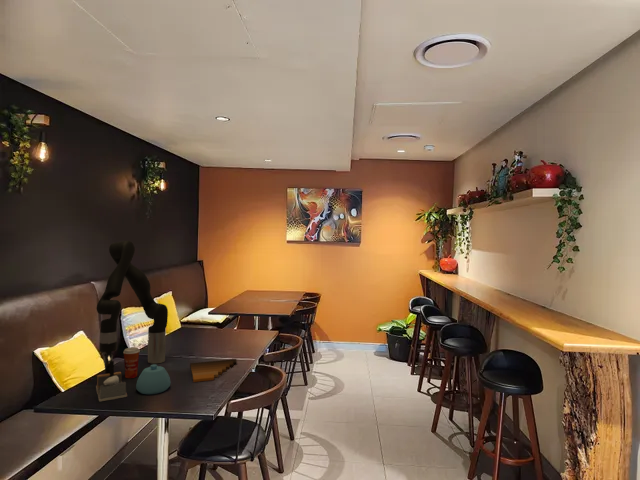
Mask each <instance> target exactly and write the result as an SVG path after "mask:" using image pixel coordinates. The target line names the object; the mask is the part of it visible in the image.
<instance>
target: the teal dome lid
mask: <svg viewBox="0 0 640 480" xmlns="http://www.w3.org/2000/svg"><path fill="white" fill-rule="evenodd" d="M170 386H171V378H170V375H169V373H168V371H167V370H166V369H165V367H163V366H161V365H160V366H159V365H158V364H157V363H156V364H151V365H150V366H149V367H148V366H147V367H146V368H144V369H143V370H142V372H140V375H139V377H138V378H137V381H136V385H135V389H136V390H137V391H138V392H139V393H140V394H142V395H157V394H161V393H163V392H166V391H167V390H168V389H169V387H170Z"/></svg>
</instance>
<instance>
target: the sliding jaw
mask: <svg viewBox="0 0 640 480" xmlns="http://www.w3.org/2000/svg"><path fill="white" fill-rule="evenodd" d="M114 376H118V377H119V383H120V382H122V372H121V371H116V372H115V371H114ZM109 377H110V373H108V374H105V373H103V374H97V377H96V378H97V379H96V380H97V381H96V382H97V383H96V385H97V387H100V386H101V385H104V383H103V382H104V381H105V380H106V379H108V378H109Z"/></svg>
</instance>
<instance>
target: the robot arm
mask: <svg viewBox="0 0 640 480" xmlns="http://www.w3.org/2000/svg"><path fill="white" fill-rule="evenodd" d="M108 251H109V254H110V256H111V258H112V260H113V261H114V263H115V264H116V267H115V269H114V270H113V271H112V272H111V274H110V275H109V277H108V279H107V281H106V287H105V289H104V292H103V293H102V295H101V297H100V298H99V300H98V302H97V305H96V312H97V313H98V314H99V315H107V316H108V315H110V317H109V318H104V319H103V320H101V321H100V330H99V331H100V333H99V352H101V353H103V356H102V358H103V364H104V374H108V373H110V361H113V359H114V358H113V357H114V354H113V353H112V352H114V351H117V349H118V334H117V333H118V331H117V330H118V329H117V327H118V319H119V315H120V312H121V309H122V304H121V302H120V300H117V299H113V298H117V297H119V296H120V294H121V292H122V288H123V284H124V280H125V278H126V280H127V281H128V284H129V285H130V287H131V289H132V290H133V292H134V293H135V296H136V297H137V299H138V301H139V303H140V304H141V306H142V308H143V312H144V313H145V315H146V317H147V318H148V319H151V320H153V324H152V325H150V326H148V328H147V331H148V333H147V363H148V364H151V365H153V364H156V365H157V364H161V363H164V362H165V361H166V329H167V326H168V320H169V319H168V316H169V311H168V306H167V305H166V304H164V303H157V302H156V301H155V300H154V298H153V296H152V295H151V283H150V280H149V279H148V277H147V275H146V273H145V272H143V270H141V269H140V268H139V267H137V266H135V265H134V264H133V263H132V260H133V257H134V255H135V252H136V247H135V244H134V243H133V242H132V241H130V240H122V241H117V242H112V243H111V244H110V245H109V247H108Z"/></svg>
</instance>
